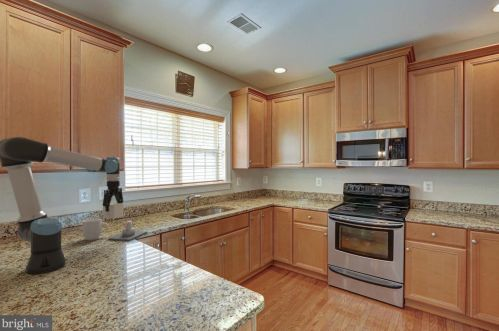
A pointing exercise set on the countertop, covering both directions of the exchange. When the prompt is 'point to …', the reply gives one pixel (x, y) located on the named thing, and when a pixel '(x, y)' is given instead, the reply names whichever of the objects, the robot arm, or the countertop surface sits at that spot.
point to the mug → (93, 228)
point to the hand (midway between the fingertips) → (113, 214)
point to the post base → (127, 238)
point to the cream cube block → (115, 210)
